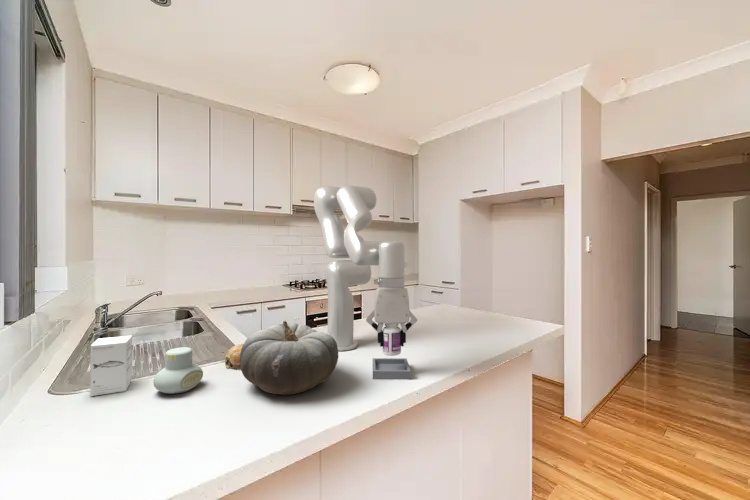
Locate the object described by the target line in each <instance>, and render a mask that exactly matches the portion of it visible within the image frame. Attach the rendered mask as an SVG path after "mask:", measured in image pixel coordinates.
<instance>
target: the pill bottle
mask: <svg viewBox="0 0 750 500" xmlns="http://www.w3.org/2000/svg"><path fill="white" fill-rule="evenodd" d="M382 332H383V346H382V353H383V355H386V356H391V357H394V356H399V355H400V354H401V353H402V346H401V328H400V327H399V324H384V327H382Z"/></svg>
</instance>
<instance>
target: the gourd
mask: <svg viewBox="0 0 750 500" xmlns="http://www.w3.org/2000/svg"><path fill="white" fill-rule="evenodd" d="M242 344H243V346H242V349H241V353H240V364H241V369H240V371H241V374H242V375H243V376H244V378H245V380H247V381H248V382H249V383H251V384H252V385H254V386H257V387H259V389H261V390H262V391H263V392H266V393H271V394H273V395H282V396H287V395H297V394H299V393H303V392H305V391H309V390H311V389H313V388H315V386H317V385H320V384H322V383H323V382H325V381H326V380H328V379H329V377H331V375H332V374H333V372H334V371H335V369H336V366H337V364H338V362H339V351H338V347H337V343H336V341H335V339H334V338H333V337H332V336H331V335H329V334H327V332H323V331H318V330H316V329H313V328H312V327H310V326H309V325H305V324H298V323H296V322H293V321H288V320H282V321H281V322H279V323H278V324H273V325H270V326H269V327H266V328H264V329H260V330H257V331H256V332H254V333H252V334H250V335H249V336H248V337H247V338H246V339H245V341H244V342H243V343H242Z"/></svg>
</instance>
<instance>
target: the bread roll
mask: <svg viewBox="0 0 750 500" xmlns="http://www.w3.org/2000/svg"><path fill="white" fill-rule="evenodd" d="M243 344H244V343H241V344H236V345H234V346H231V347H230V348H229V349H228V350H227V352H226V354H225V356H224V364H225V368H226V369H231V370H241V364H240V353H241V349H242V346H243Z"/></svg>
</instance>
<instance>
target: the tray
mask: <svg viewBox="0 0 750 500" xmlns="http://www.w3.org/2000/svg"><path fill="white" fill-rule="evenodd" d="M409 364H410V363H409V362H408V359H407V358H394V357H393V358H389V357H388V358H386V357H385V358H383V357H382V358H380V357H379V358H372V380H412V373H411V372H412V370H411V367H410V365H409Z"/></svg>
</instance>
